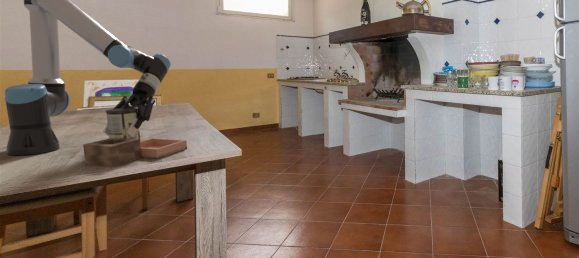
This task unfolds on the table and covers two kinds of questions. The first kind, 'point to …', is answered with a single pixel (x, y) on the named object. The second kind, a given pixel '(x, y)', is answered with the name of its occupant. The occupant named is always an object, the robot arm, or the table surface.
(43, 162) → the table surface
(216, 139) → the table surface
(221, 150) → the table surface
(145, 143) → the dish
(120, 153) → the brown square planter
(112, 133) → the coffee can
